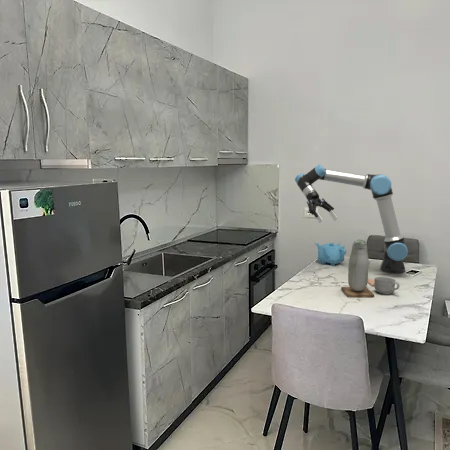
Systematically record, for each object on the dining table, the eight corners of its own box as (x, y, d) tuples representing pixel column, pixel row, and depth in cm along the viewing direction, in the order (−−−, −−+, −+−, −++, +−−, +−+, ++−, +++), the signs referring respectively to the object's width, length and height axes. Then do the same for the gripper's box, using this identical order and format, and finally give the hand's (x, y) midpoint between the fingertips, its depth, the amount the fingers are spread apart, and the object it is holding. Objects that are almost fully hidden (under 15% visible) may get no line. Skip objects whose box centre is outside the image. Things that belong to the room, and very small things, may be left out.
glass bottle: (365, 294, 217) (367, 242, 213) (345, 291, 222) (347, 240, 218) (369, 289, 226) (371, 239, 222) (350, 286, 231) (352, 237, 227)
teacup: (369, 291, 228) (370, 277, 227) (384, 288, 233) (385, 274, 232) (388, 298, 216) (389, 283, 215) (404, 295, 220) (404, 281, 219)
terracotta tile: (385, 280, 248) (385, 279, 248) (393, 286, 236) (393, 285, 236) (365, 280, 248) (365, 279, 248) (371, 286, 237) (372, 284, 236)
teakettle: (347, 266, 284) (348, 245, 282) (320, 266, 283) (321, 245, 281) (339, 260, 302) (340, 240, 300) (313, 260, 302) (314, 240, 300)
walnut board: (366, 289, 231) (366, 287, 231) (374, 297, 217) (374, 294, 217) (341, 289, 231) (341, 286, 231) (347, 297, 217) (347, 294, 217)
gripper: (321, 197, 272) (338, 222, 262) (293, 199, 257) (311, 225, 247) (327, 189, 267) (345, 214, 257) (300, 191, 252) (318, 217, 242)
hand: (328, 220), depth 252 cm, fingers open, 13 cm apart
